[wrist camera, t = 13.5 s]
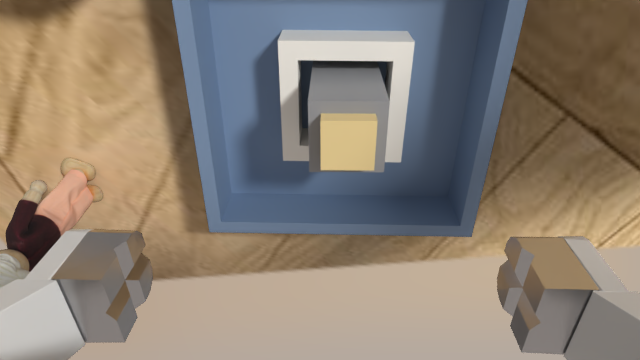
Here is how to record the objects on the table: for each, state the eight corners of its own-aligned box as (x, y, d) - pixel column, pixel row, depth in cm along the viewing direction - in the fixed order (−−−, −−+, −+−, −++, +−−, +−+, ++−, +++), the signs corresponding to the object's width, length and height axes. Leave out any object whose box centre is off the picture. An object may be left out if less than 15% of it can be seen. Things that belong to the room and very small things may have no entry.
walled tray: (509, -69, 27) (543, -67, 22) (455, 200, 37) (471, 236, 33) (187, -71, 27) (160, -69, 23) (223, 196, 37) (209, 232, 33)
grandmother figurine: (42, 150, 35) (-86, 252, 25) (85, 143, 35) (-25, 244, 24) (83, 224, 39) (-12, 340, 28) (122, 219, 39) (42, 335, 28)
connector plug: (376, 59, 30) (392, 108, 22) (372, 118, 32) (385, 181, 24) (313, 59, 30) (306, 108, 22) (314, 118, 32) (308, 180, 25)
